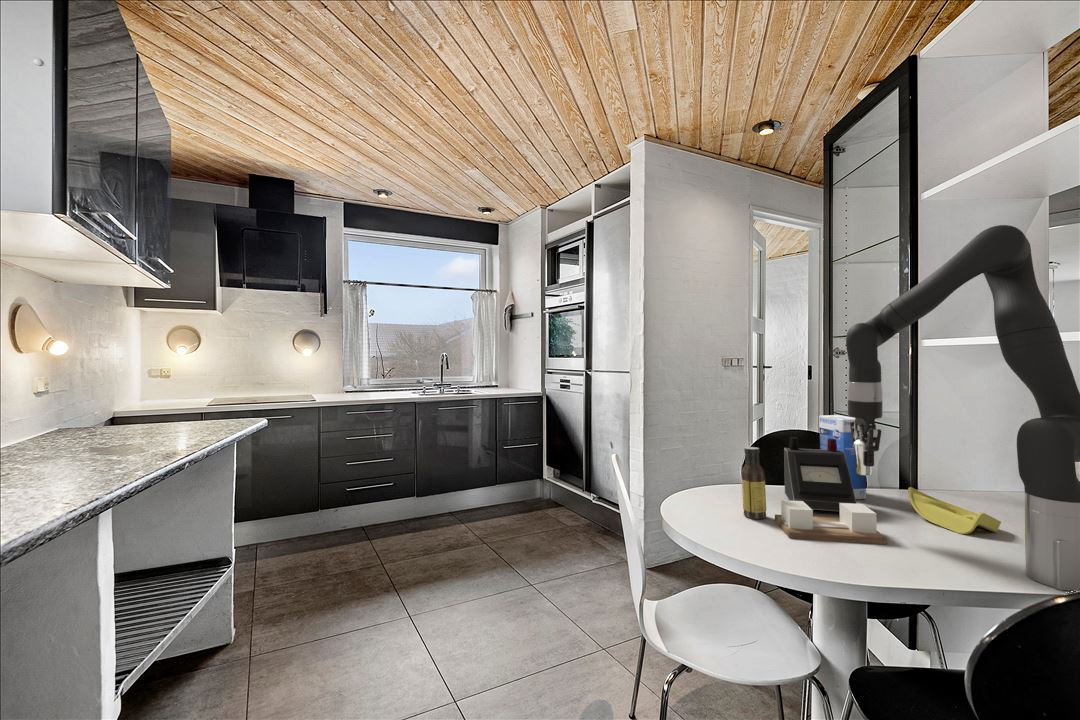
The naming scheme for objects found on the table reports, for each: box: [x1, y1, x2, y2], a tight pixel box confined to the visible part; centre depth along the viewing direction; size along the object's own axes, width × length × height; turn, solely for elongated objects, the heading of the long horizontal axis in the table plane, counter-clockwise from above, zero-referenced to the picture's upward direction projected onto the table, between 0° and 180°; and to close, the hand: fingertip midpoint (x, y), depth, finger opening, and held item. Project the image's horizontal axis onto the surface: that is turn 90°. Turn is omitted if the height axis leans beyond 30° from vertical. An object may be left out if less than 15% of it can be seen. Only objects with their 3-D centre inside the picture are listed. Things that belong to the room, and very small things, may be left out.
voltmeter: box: [783, 436, 858, 512], centre depth 146 cm, size 16×16×20 cm
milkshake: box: [854, 439, 873, 476], centre depth 125 cm, size 4×5×10 cm
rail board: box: [774, 514, 888, 545], centre depth 125 cm, size 14×22×2 cm, turn 77°
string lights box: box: [818, 414, 867, 500], centre depth 159 cm, size 13×8×26 cm, turn 1°
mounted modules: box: [780, 499, 878, 533], centre depth 125 cm, size 8×20×5 cm, turn 77°
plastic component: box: [907, 486, 1002, 535], centre depth 131 cm, size 20×7×10 cm
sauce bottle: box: [741, 446, 767, 520], centre depth 138 cm, size 6×6×20 cm
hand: (864, 463), depth 125 cm, fingers closed on milkshake, 4 cm apart
